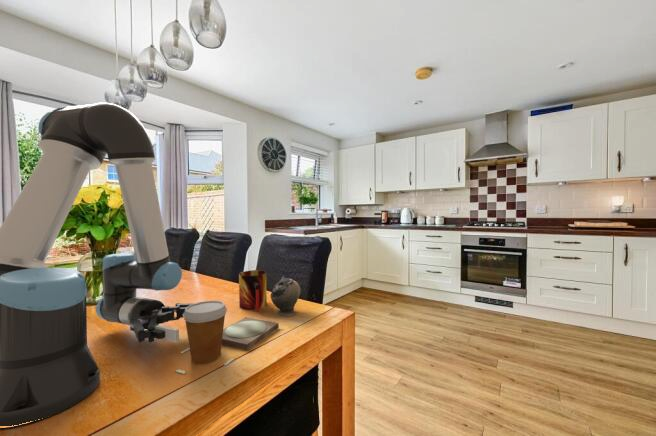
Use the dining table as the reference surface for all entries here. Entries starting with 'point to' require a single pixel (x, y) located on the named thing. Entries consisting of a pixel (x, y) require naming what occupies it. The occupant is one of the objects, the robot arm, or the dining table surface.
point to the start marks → (189, 349)
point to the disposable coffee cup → (205, 330)
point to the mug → (252, 290)
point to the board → (247, 332)
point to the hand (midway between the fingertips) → (202, 324)
